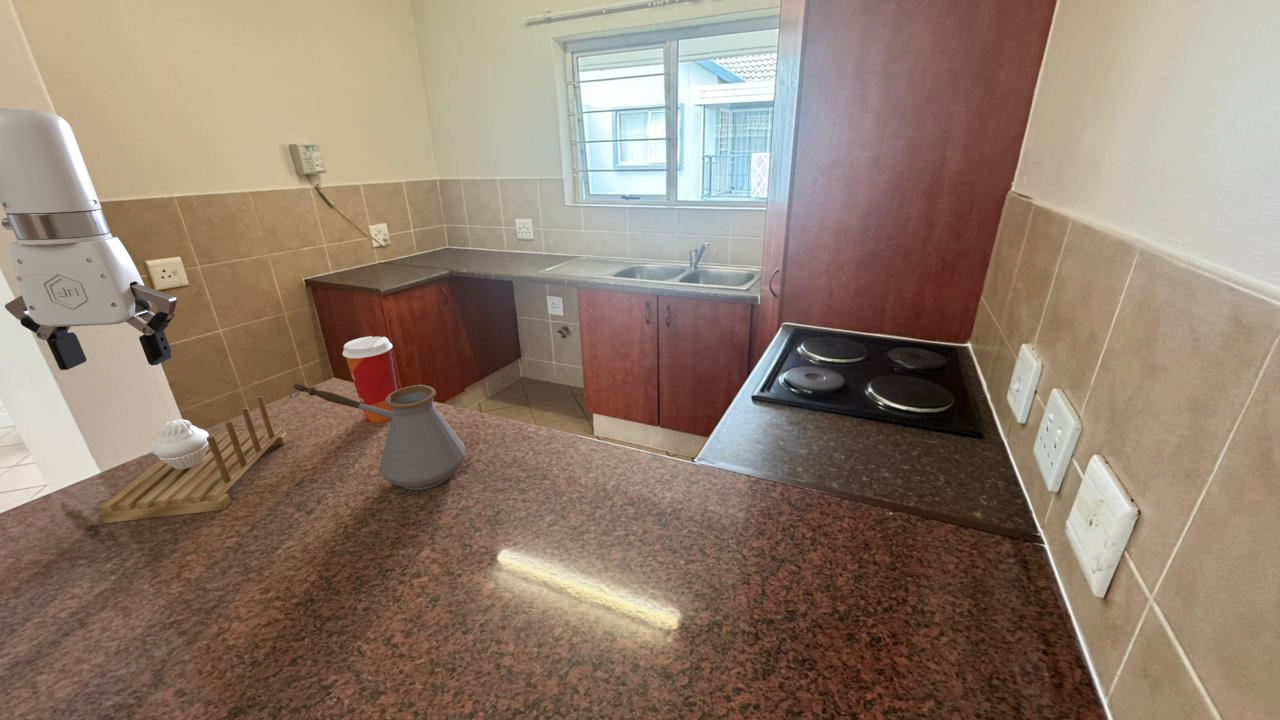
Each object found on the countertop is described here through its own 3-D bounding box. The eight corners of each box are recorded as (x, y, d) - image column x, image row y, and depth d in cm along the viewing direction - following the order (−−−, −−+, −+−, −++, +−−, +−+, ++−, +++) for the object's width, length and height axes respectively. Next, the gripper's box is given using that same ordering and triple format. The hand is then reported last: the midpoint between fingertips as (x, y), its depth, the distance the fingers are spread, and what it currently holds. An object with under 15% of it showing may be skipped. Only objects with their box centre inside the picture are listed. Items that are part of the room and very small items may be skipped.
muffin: (213, 466, 71) (196, 423, 69) (157, 481, 68) (136, 436, 66) (219, 447, 76) (203, 406, 73) (166, 459, 73) (148, 417, 70)
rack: (103, 523, 64) (70, 460, 61) (194, 448, 81) (172, 396, 77) (224, 510, 66) (199, 448, 63) (288, 440, 83) (271, 388, 79)
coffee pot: (477, 451, 79) (462, 363, 73) (454, 497, 68) (435, 398, 62) (339, 455, 78) (314, 367, 72) (295, 503, 67) (261, 403, 62)
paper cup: (377, 404, 94) (360, 334, 89) (414, 406, 93) (400, 335, 88) (349, 424, 87) (329, 349, 82) (389, 427, 86) (372, 351, 81)
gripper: (-64, 233, 53) (10, 379, 60) (123, 230, 56) (174, 370, 63) (5, 225, 60) (65, 357, 67) (169, 222, 63) (211, 350, 69)
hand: (118, 363), depth 65 cm, fingers open, 9 cm apart
